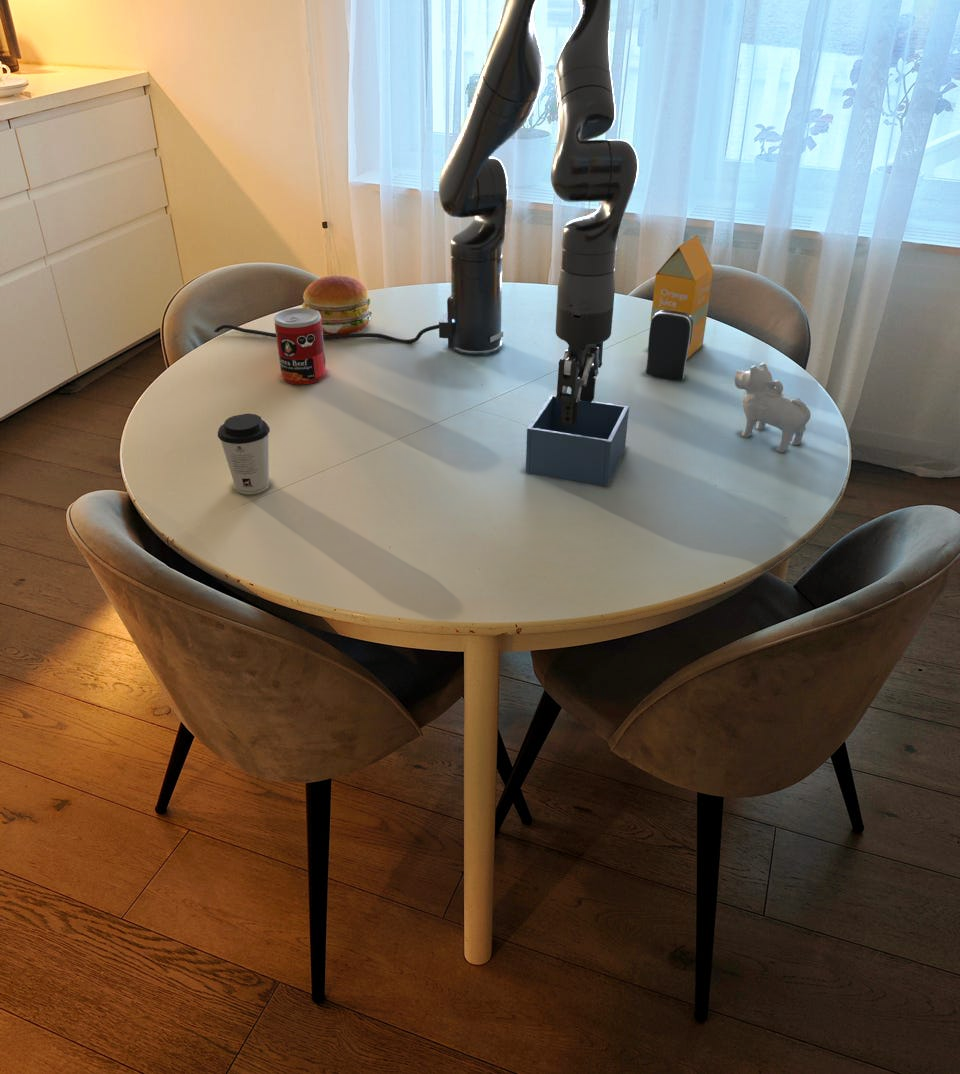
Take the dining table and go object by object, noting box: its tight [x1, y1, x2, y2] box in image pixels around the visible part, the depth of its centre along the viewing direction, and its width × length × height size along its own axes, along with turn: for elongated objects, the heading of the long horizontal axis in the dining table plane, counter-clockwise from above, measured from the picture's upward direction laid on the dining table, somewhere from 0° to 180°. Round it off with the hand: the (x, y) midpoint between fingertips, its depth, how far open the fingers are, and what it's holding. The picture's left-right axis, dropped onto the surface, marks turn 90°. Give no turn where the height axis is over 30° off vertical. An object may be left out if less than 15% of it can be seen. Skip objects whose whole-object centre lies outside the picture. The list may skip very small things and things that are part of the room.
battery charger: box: [645, 310, 693, 381], centre depth 156 cm, size 7×4×11 cm, turn 65°
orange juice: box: [650, 234, 715, 359], centre depth 164 cm, size 8×9×20 cm
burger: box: [301, 274, 373, 335], centre depth 176 cm, size 14×14×10 cm
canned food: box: [273, 307, 327, 386], centre depth 156 cm, size 8×8×11 cm
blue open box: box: [525, 394, 630, 487], centre depth 132 cm, size 7×12×12 cm
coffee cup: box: [217, 412, 271, 496], centre depth 124 cm, size 7×7×10 cm
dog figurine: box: [734, 362, 811, 453], centre depth 137 cm, size 5×13×11 cm, turn 40°
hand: (577, 412), depth 129 cm, fingers open, 8 cm apart
